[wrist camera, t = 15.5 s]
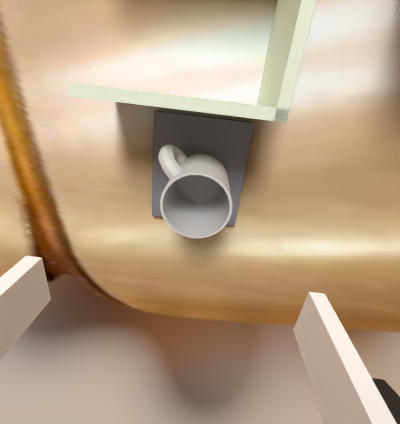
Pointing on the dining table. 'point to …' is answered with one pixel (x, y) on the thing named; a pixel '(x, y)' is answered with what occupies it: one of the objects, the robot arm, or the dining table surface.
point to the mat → (202, 149)
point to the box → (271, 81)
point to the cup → (194, 193)
